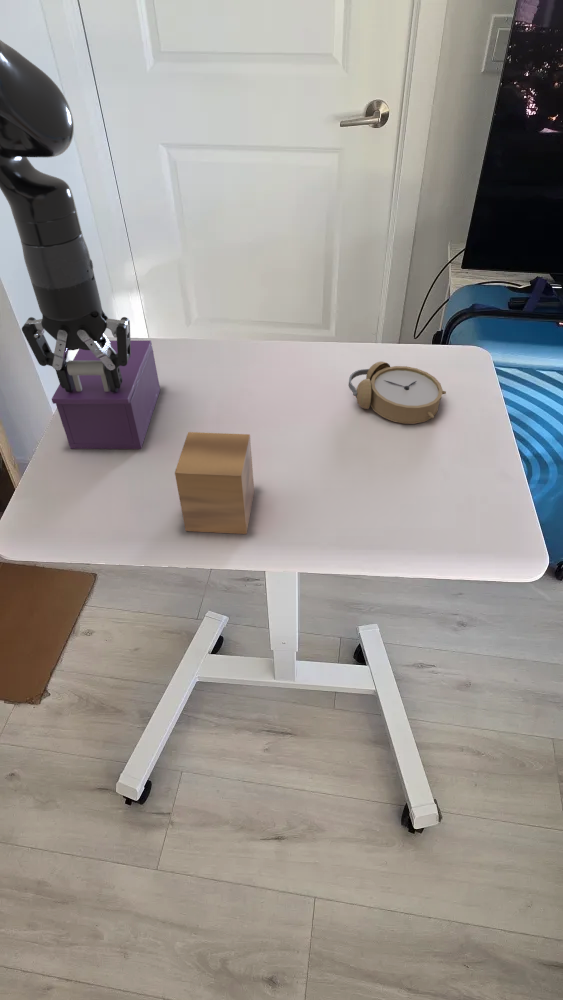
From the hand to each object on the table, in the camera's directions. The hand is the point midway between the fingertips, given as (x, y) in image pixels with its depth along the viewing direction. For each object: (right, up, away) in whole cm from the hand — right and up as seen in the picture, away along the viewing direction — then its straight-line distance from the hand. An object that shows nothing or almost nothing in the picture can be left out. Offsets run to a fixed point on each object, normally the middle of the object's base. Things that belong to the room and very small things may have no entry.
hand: (93, 388), depth 88 cm
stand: (+18, -17, -5) cm, 26 cm away
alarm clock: (+44, 0, +13) cm, 46 cm away
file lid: (0, +3, +5) cm, 6 cm away
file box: (0, -3, +11) cm, 12 cm away
